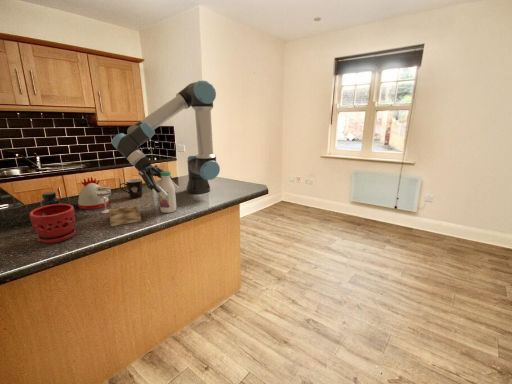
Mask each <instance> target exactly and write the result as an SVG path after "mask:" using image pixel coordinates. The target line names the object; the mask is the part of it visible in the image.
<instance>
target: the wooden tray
mask: <svg viewBox="0 0 512 384" xmlns="http://www.w3.org/2000/svg"><path fill="white" fill-rule="evenodd" d="M108 214H109V222H110V226H111V227H115V226H119V225H121V226H122V225H126V224H130V223H137V222H142V217H141V215H142V214H141V211H140V210H139V208H138V205H135V206H130V207H129V206H128V207H122V208H115V209H109V212H108Z"/></svg>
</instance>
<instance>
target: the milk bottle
mask: <svg viewBox="0 0 512 384" xmlns="http://www.w3.org/2000/svg"><path fill="white" fill-rule="evenodd" d="M160 174H161V178H160V183H159V184H158V185H159V186H160V187H161V188H162V189H163V190H164V191H165V192H166V193H167V194H168V195H167V196H166V197H165V198H164V199H163V198H162V197H161V196H160V195H159V194H158V196H159V197H158V200H159V209H160V210H159V211H160V212H161V213H164V214H168V213H174V212H176V211H177V200H176V191H175V188H174V185H173V183H172V181H173V180H172V178H170V176H172V175H171V171H169V170H168V171H167V170H165V171H164V170H163V172H161V173H160ZM171 180H172V181H171Z"/></svg>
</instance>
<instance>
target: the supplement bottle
mask: <svg viewBox="0 0 512 384" xmlns="http://www.w3.org/2000/svg"><path fill="white" fill-rule="evenodd" d="M41 196H42V199H41V200H40V207H43V206H47V205H53V204H61V201H60V199H59V198H58V197H57V194H56V192H55V191H50V192H49V191H48V192H43V193H42V194H41ZM56 212H57V211H56V210H55V211H54V213H56ZM45 215H46V213H43V214H42V216H45ZM49 215H52V214H51V213H50V214H49Z"/></svg>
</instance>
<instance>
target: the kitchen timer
mask: <svg viewBox="0 0 512 384" xmlns="http://www.w3.org/2000/svg"><path fill="white" fill-rule="evenodd" d="M99 182H100V180H97V179H96V178H94V179H93V177H92V176H90V177H87V180H86V178H83V181H82V180H80V183H81V184H82V185H83V187H82V188H81V190H80V192H79V193H78V194H79V195H78V200H77V201H78V202H77V203H78V208H80V209H84V210H86V209H87V210H90V209H97V208H101V207H105V204H104V199H102V198H99V197H98V196H96V194H95V191H96V190H95V188H97V187H101V185H99ZM105 200H106V206H107V205H109V204H110V199H109V197H107V198H106V199H105Z"/></svg>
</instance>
